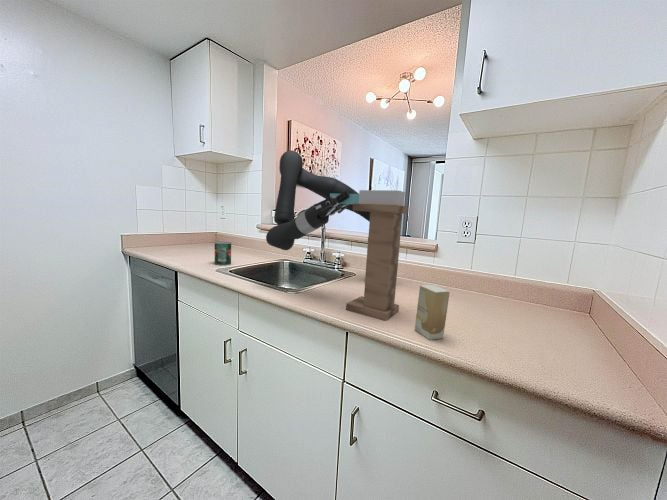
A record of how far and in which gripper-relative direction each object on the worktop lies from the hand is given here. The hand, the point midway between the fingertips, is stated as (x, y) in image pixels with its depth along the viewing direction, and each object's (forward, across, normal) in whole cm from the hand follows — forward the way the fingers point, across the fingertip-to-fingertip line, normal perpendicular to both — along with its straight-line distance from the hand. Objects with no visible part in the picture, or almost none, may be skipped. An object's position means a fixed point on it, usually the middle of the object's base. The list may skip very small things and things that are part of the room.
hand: (351, 194), depth 86 cm
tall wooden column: (-9, 0, +35) cm, 36 cm away
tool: (+2, 0, +4) cm, 5 cm away
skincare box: (+7, -6, +45) cm, 46 cm away
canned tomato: (-85, +10, -8) cm, 86 cm away
